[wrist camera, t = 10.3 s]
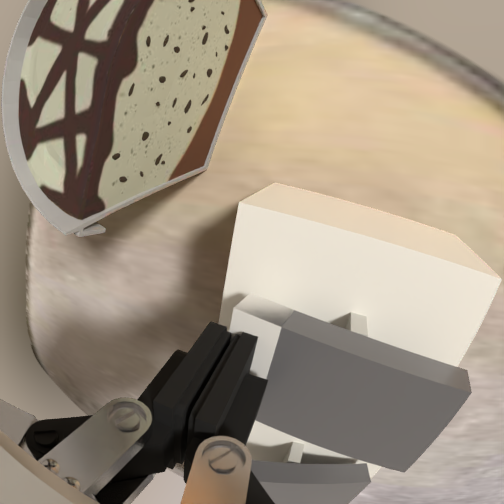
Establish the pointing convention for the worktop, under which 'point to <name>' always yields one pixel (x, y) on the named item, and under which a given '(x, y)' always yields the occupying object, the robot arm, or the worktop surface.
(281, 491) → the switch
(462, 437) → the worktop surface
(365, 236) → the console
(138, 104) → the food container
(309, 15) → the worktop surface
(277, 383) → the switch
